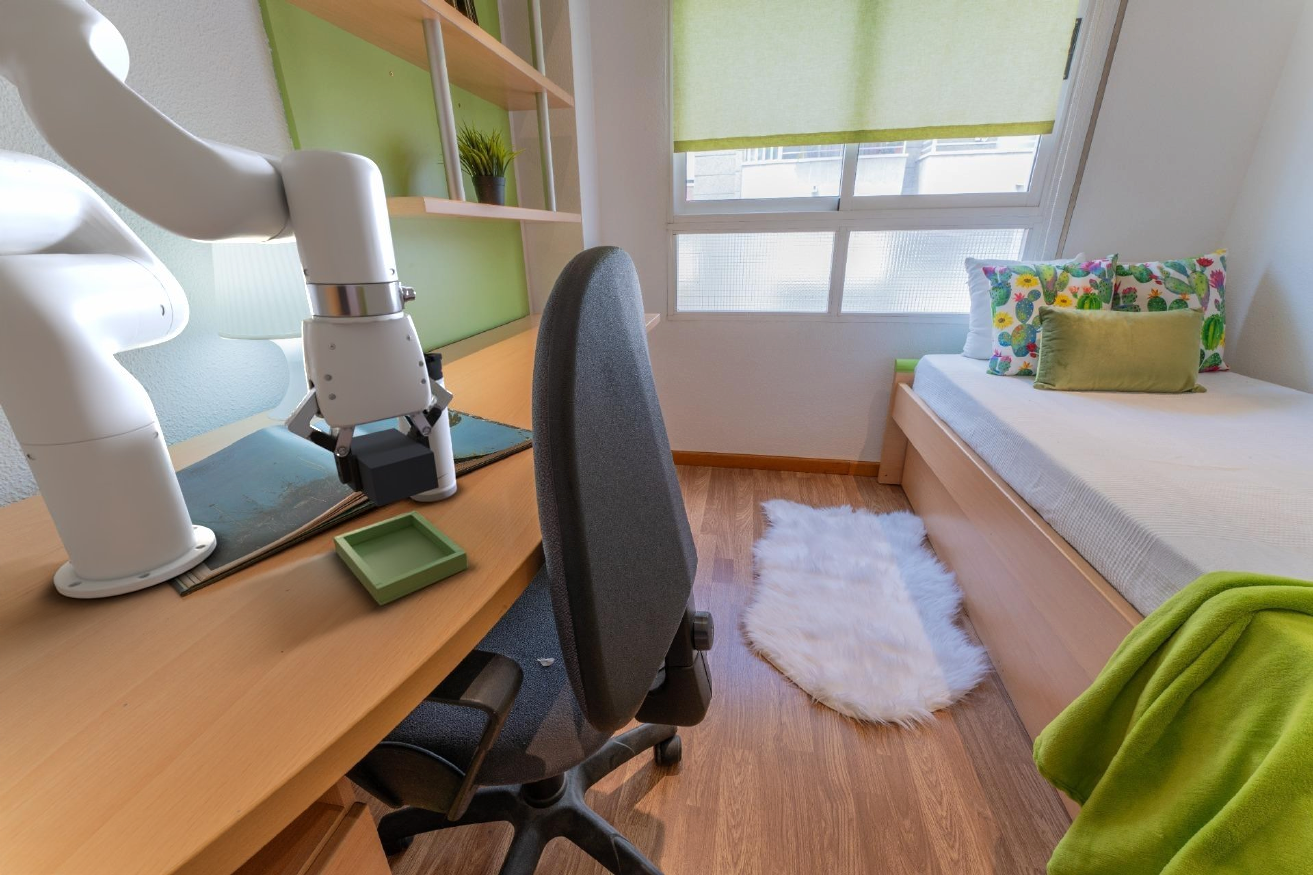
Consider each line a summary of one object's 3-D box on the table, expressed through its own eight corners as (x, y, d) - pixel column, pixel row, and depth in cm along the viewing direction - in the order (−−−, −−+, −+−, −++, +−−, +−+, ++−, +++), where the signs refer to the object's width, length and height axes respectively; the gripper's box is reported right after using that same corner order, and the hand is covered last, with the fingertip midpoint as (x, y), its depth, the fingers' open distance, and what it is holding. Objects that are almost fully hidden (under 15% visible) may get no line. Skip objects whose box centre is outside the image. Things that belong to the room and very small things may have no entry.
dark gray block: (342, 475, 56) (335, 441, 54) (400, 460, 60) (394, 427, 59) (377, 507, 49) (370, 468, 48) (439, 487, 54) (433, 451, 52)
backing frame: (336, 552, 59) (332, 536, 59) (417, 523, 66) (415, 509, 65) (380, 606, 51) (377, 589, 50) (468, 567, 57) (466, 552, 56)
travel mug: (443, 505, 70) (423, 359, 63) (399, 499, 71) (375, 356, 64) (467, 485, 76) (452, 350, 69) (427, 480, 77) (408, 347, 70)
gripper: (430, 294, 57) (451, 447, 63) (233, 305, 45) (283, 492, 51) (463, 299, 52) (482, 465, 58) (252, 314, 40) (305, 519, 46)
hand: (388, 476), depth 55 cm, fingers closed on dark gray block, 6 cm apart
